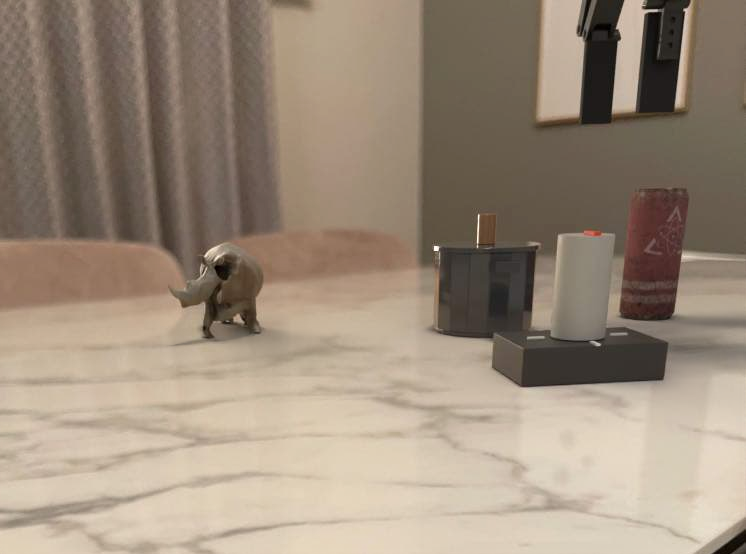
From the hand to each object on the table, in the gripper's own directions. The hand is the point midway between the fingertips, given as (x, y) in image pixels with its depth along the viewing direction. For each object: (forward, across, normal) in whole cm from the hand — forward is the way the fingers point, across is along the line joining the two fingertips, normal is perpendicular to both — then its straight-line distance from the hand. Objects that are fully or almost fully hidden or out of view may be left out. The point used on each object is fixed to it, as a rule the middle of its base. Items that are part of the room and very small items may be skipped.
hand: (621, 119), depth 70 cm
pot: (+20, -17, -7) cm, 27 cm away
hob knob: (+16, +6, -4) cm, 18 cm away
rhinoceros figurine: (+19, -20, -36) cm, 45 cm away
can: (+20, -23, +13) cm, 33 cm away
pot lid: (+11, -17, -7) cm, 22 cm away
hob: (+20, +6, -4) cm, 21 cm away
